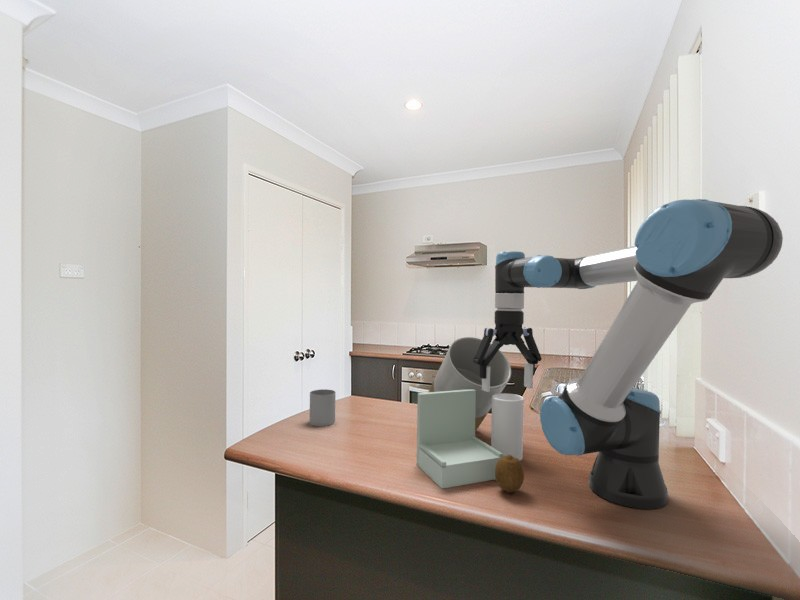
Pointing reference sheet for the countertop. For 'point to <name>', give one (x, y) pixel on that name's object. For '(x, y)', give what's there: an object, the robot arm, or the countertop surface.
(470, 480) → the mint green bookend
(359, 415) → the countertop surface
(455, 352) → the planter
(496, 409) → the cup
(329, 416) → the cup
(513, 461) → the fruit
